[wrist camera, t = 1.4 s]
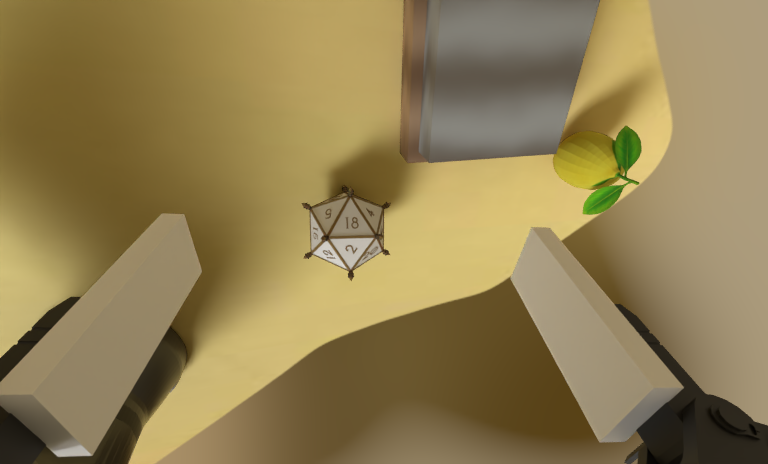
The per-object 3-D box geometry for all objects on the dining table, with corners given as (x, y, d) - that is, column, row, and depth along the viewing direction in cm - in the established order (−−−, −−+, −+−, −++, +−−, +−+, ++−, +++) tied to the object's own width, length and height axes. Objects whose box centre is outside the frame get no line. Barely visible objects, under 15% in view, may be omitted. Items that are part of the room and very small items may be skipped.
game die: (351, 183, 37) (418, 186, 30) (351, 255, 39) (416, 274, 32) (278, 184, 31) (341, 189, 24) (281, 270, 33) (342, 298, 26)
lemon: (542, 187, 38) (607, 230, 30) (528, 146, 35) (597, 182, 27) (594, 155, 38) (676, 190, 29) (585, 110, 34) (674, 136, 26)
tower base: (526, 144, 35) (563, 163, 30) (399, 152, 33) (416, 175, 28) (564, -19, 28) (620, -30, 23) (404, -24, 25) (428, -37, 20)
